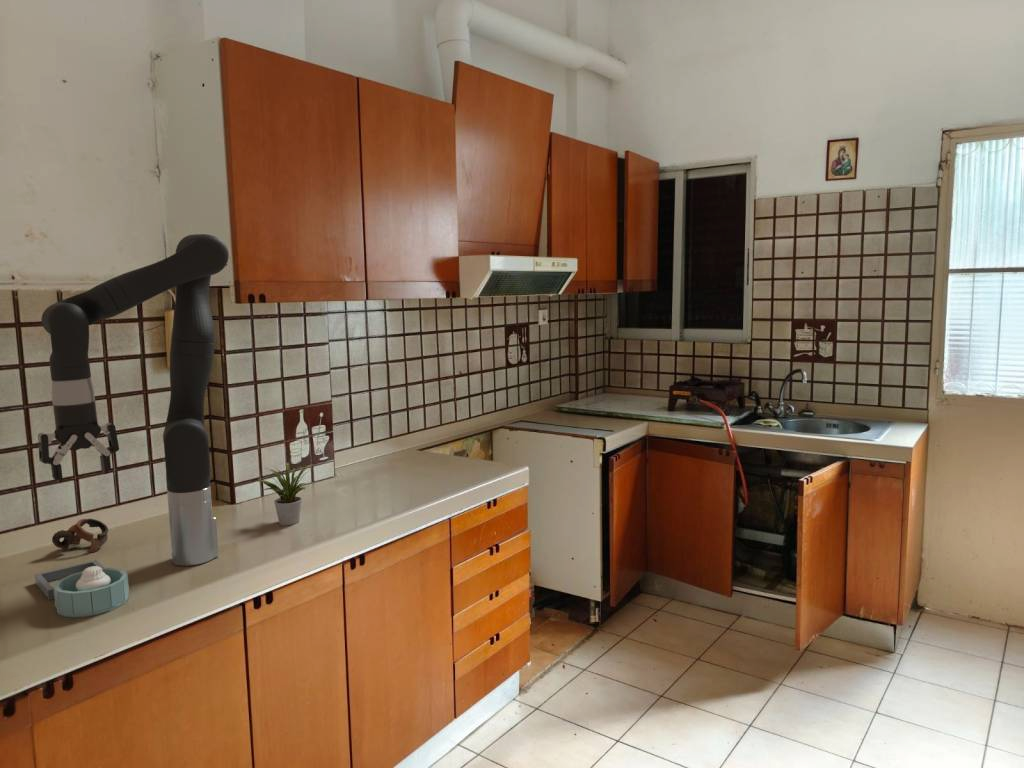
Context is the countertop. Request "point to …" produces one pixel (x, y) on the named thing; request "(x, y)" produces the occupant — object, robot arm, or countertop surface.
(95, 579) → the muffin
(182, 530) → the robot arm
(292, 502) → the house plant
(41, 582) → the square frame
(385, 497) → the countertop surface
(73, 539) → the brown looped piece
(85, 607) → the bowl
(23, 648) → the countertop surface
